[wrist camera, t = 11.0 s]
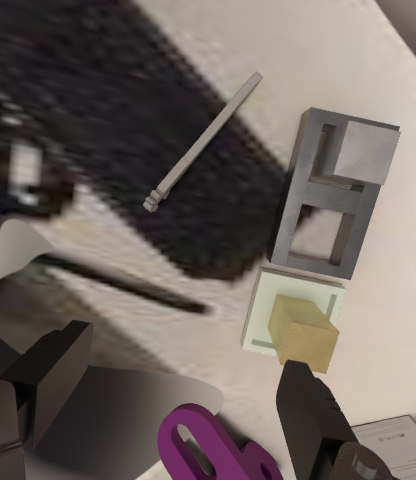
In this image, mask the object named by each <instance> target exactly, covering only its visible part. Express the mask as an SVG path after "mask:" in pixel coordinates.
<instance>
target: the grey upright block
mask: <svg viewBox="0 0 416 480" xmlns="http://www.w3.org/2000/svg"><path fill="white" fill-rule="evenodd" d="M400 133H401V132H399V131H395V130H390V129H386V128H381V127H376V126H372V125H367V124H363V123H358V122H354V121H347V122H345V123H343V124H341V125H339V126H337V127H335V128H333V129H331V130H329V131H327V132H325V133H323V134H321V135H320V139H319V143H318V146H317V150H316V154H315V157H314V161H313V165H312V169H311V172H310V176H309V178H313V179H317V180H322V181H326V182H331V183H336V184H340V185H345V186H362V185H384V183H385V180H386V177H387V174H388V171H389V168H390V164H391V161H392V158H393V155H394V152H395V149H396V146H397V143H398V140H399V137H400Z"/></svg>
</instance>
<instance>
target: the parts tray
mask: <svg viewBox="0 0 416 480" xmlns="http://www.w3.org/2000/svg"><path fill="white" fill-rule="evenodd" d="M346 292H347V289H346V288H345V287H343V286H342V285H341V284H337V283H333V282H328V281H323V280H318V279H314V278H309V277H304V276H299V275H295V274H290V273H285V272H280V271H276V270H271V269H266V268H262V267H260V268H259V272H258V275H257V279H256V283H255V287H254V291H253V295H252V299H251V303H250V307H249V311H248V315H247V319H246V323H245V327H244V331H243V334H242V338H241V346H242V350H247V351H252V352H257V353H262V354H267V355H271V356H276V357H278V356H277V353H276V350H275V347H274V345H273V342H272V339H271V337H270V334H269V331H268V324H269V320H270V316H271V313H272V309H273V305H274V301H275V298H276V294H279V295H284V296H289V297H293V298H298V299H303V300H308V301H313V302H314V303H315V304H316V305H317V307H318V308H319V309H320V310H321V311H322V312H323V314H324V315H325V316H326V317H327V318H328V319H329V321H330V322H331V323H332V324H333V325H334V326H336V323H337V320H338V317H339V314H340V311H341V307H342V304H343V301H344V298H345V295H346Z"/></svg>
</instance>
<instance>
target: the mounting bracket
mask: <svg viewBox="0 0 416 480" xmlns="http://www.w3.org/2000/svg"><path fill="white" fill-rule="evenodd" d="M178 424H183V425H185V426H186V427H187V428H188V429H189V431H190V432H191V433H192V435H193V436H194V438H195V439H196V441H197V442H198V444H199V445H200V447H201V448H202V450H203V451H204V453H205V454H206V456H207V457H208V459H209V460H210V462H211V463H212V464H213V466H214V468H215V470H216V471H215V472H214V473H212V474H211V475H210V476H208V475H207V474H205V473H204V471H203V470H202V469H201V467H200V465H199V464H198V462H197V461H196V459H195V458H194V456H193V455H192V453H191V452H190V450H189V449H188V447H187V446H186V444H185V443H184V441H183V440H182V438H181V437H180V435H179V433H178V430H177V425H178ZM158 450H159V454H160V457H161V460H162V462H163V464H164V466H165V468H166V469H167V471H168V473H169V474H170V476H171V477H172V479H173V480H283V477H282V475H281V473H280V470H279V468H278V467H277V465H276V463H275V462H274V460H273V458H272V457H271V456H270V454H269V453H268V452H267V451H266V450H264V449H263V448H262V447H261V446H260V445H259V444H257V443H256V442H254V441H251V442H249V443H247V444H246V445H245V446H244V447H243V448H242V449H240V450H239V449H238V448H237V447H236V445H235V444H234V442H233V441H232V440H231V438H230V437H229V436H228V434H227V433H226V431H225V430H224V429H223V427H222V426H221V424H220V423H219V422H218V420H217V419H216V418H215V416H214V415H213V414H212V413H211V412H210V411H209V410H207V409H206V408H204V407H202V406H200V405H197V404H193V403H188V404H183V405H180V406H178V407H177V408H175V409H174V410H173V411H172V412H171V413H170V414H169V415H168V416H167V417H166V418H165V419H164V420H163V422H162V424H161V426H160V428H159V432H158Z"/></svg>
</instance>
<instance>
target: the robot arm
mask: <svg viewBox="0 0 416 480" xmlns="http://www.w3.org/2000/svg"><path fill="white" fill-rule="evenodd" d="M92 335H93V323H89V322H84V321H78V320H72V321H71V322H70V323H69V324H68V325H67V326H66V327H65V328H64V329H63V330H62V331H60V330H54V331H52V332H50V333H48V334H46V335H44V336H42V337H41V338H40V339H39V340H38V341H37V342H36V343H35V344H34V345H33V346H31V347H30V348H29V349H28V350H27V351H26V353H25V354H23V355H22V356H21V357H20V358H19V359H17V360H16V361H15V362H14V363H13V364H12V365H11V366H10V367H9V368H8V369H7V370H6V371H4V372H3V373H2V374H1V375H0V480H26V475H25V465H24V454H23V449H25V450H30V451H33V450H34V449H35V447H36V446H37V444H38V442H39V441H40V440H41V438H42V436H43V435H44V433H45V432H46V430H47V429H48V427H49V426H50V424H51V423H52V421H53V420H54V418H55V417H56V415H57V414H58V412H59V411H60V409H61V408H62V406H63V405H64V403H65V401H66V400H67V399H68V397H69V396H70V394H71V393H72V391H73V389H74V388H75V386H76V385H77V383H78V382H79V380H80V379H81V377H82V376H83V374H84V372H85V371H86V369H87V366H88V363H89V359H90V352H91V344H92ZM276 406H277V411H278V414H279V418H280V421H281V425H282V429H283V432H284V436H285V439H286V443H287V446H288V450H289V454H290V457H291V461H292V464H293V468H294V471H295V475H296V479H297V480H400V479H398V478H396V477H394V476H392V474H391V472H390V470H389V468H388V466H387V465H386V464H385V462H384V461H383V460H382V459H381V458H380V457H379V456H378V455H377V454H376V453H374V452H373V451H372V450H370V449H369V448H367V447H365V446H363V445H361V444H360V443H359V441H358V439H357V438H356V436H355V434H354V432H353V430H352V429H351V427H350V425H349V423H348V421H347V420H346V418H345V416H344V414H343V412H342V411H341V409H340V407H339V405H338V403H337V402H335V398H334V396H333V394H332V393H331V391H330V389H329V388H328V387H327V386H326V385H325V384H324V383H323V382H322V381H321V380H320V379H319V378H315V377H314V376H313V374H312V372H311V370H310V368H309V366H308V364H307V363H305V362H300V361H294V360H289V359H288V360H287V361H286V362H285V365H284V369H283V372H282V376H281V379H280V383H279V386H278V390H277V394H276Z"/></svg>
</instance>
